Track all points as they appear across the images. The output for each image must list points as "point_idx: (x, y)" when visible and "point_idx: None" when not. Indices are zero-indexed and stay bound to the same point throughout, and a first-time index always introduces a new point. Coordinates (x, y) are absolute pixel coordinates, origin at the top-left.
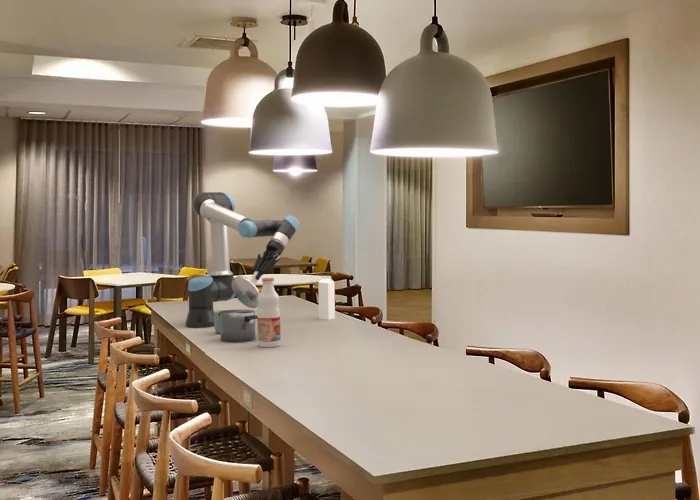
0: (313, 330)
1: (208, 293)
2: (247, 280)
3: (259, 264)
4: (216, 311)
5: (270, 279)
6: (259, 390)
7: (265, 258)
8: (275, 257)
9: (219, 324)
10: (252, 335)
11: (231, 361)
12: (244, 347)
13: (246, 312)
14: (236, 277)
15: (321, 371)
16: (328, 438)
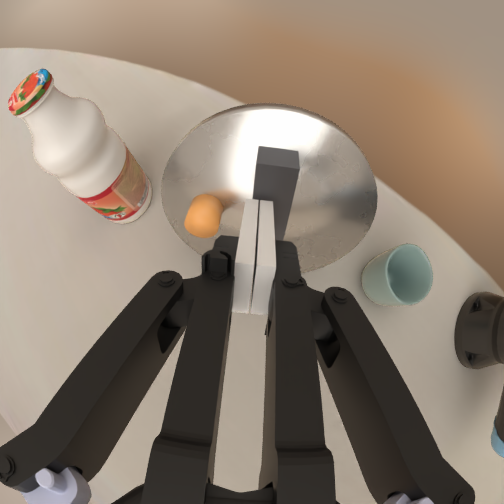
0: None
1: None
2: (204, 121)
3: (296, 358)
4: (429, 271)
5: (17, 89)
6: (48, 50)
7: (256, 490)
8: (15, 437)
9: (379, 254)
10: None
11: (121, 74)
12: (167, 151)
13: None
14: (308, 110)
15: (7, 121)
16: (6, 49)
